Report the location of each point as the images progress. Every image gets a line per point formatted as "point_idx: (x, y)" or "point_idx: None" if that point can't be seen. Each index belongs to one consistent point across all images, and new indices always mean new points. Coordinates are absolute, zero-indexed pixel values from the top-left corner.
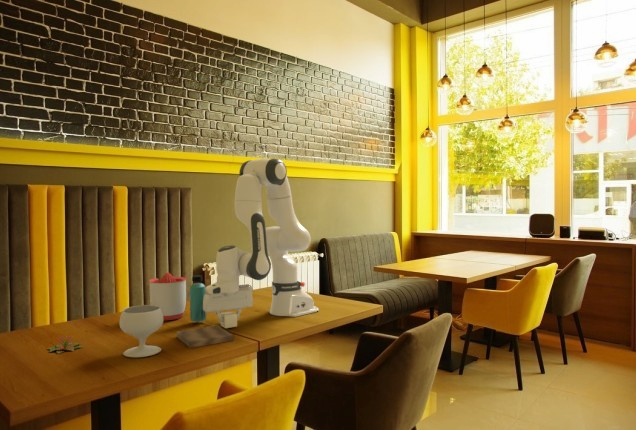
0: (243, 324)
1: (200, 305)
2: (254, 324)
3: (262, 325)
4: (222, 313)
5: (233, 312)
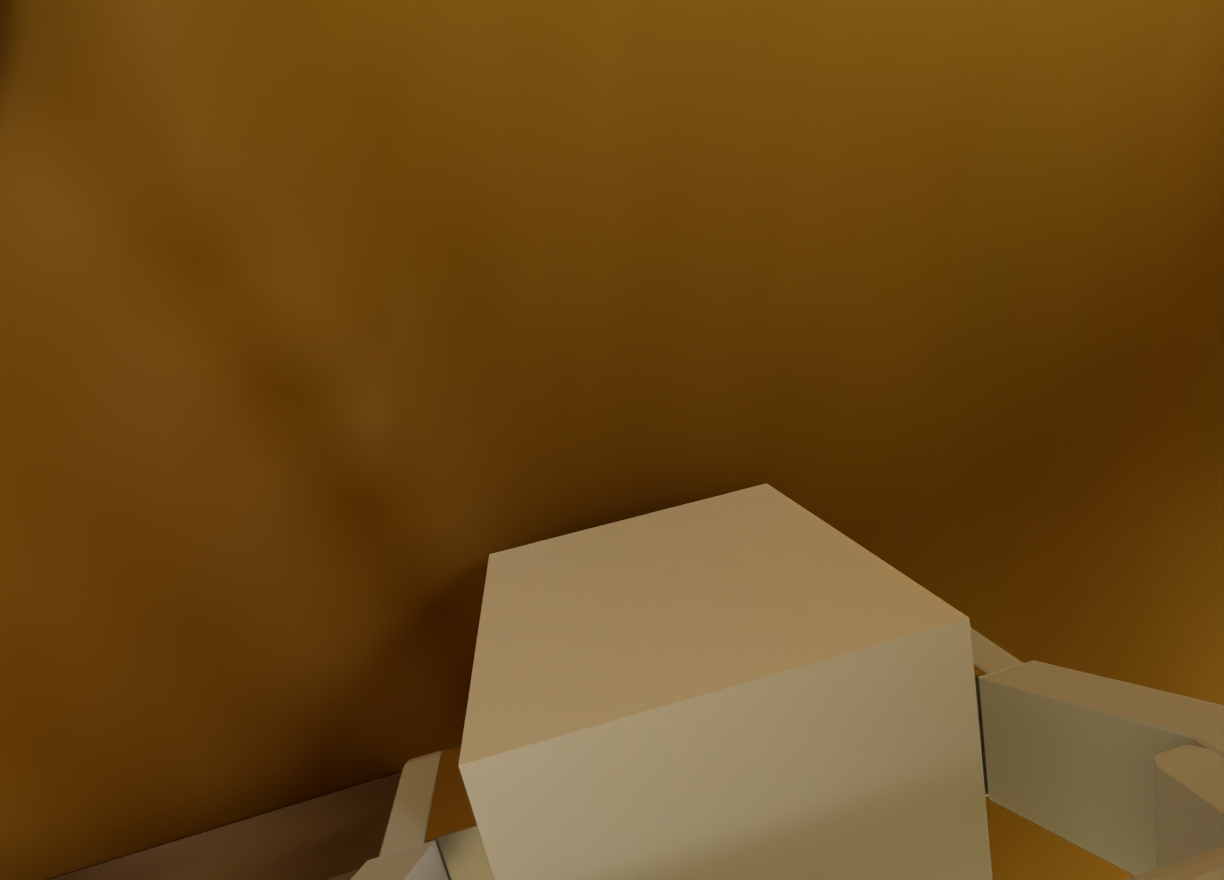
0: (957, 471)
1: None
2: (1126, 536)
3: (1209, 640)
4: (531, 830)
5: (961, 781)
